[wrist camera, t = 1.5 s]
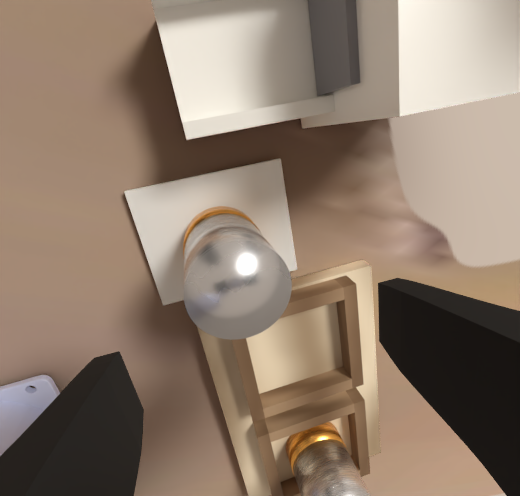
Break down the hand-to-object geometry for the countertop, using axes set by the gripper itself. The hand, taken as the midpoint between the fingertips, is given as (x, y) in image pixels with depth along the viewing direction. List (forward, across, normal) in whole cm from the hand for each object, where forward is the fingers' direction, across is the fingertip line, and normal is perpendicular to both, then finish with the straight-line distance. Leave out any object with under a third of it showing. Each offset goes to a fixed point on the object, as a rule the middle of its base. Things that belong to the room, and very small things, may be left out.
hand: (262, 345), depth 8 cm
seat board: (+9, -3, +12) cm, 16 cm away
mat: (+10, 0, 0) cm, 10 cm away
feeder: (+10, -5, -8) cm, 13 cm away
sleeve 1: (+9, 0, 0) cm, 9 cm away
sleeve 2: (+8, -3, +16) cm, 19 cm away
